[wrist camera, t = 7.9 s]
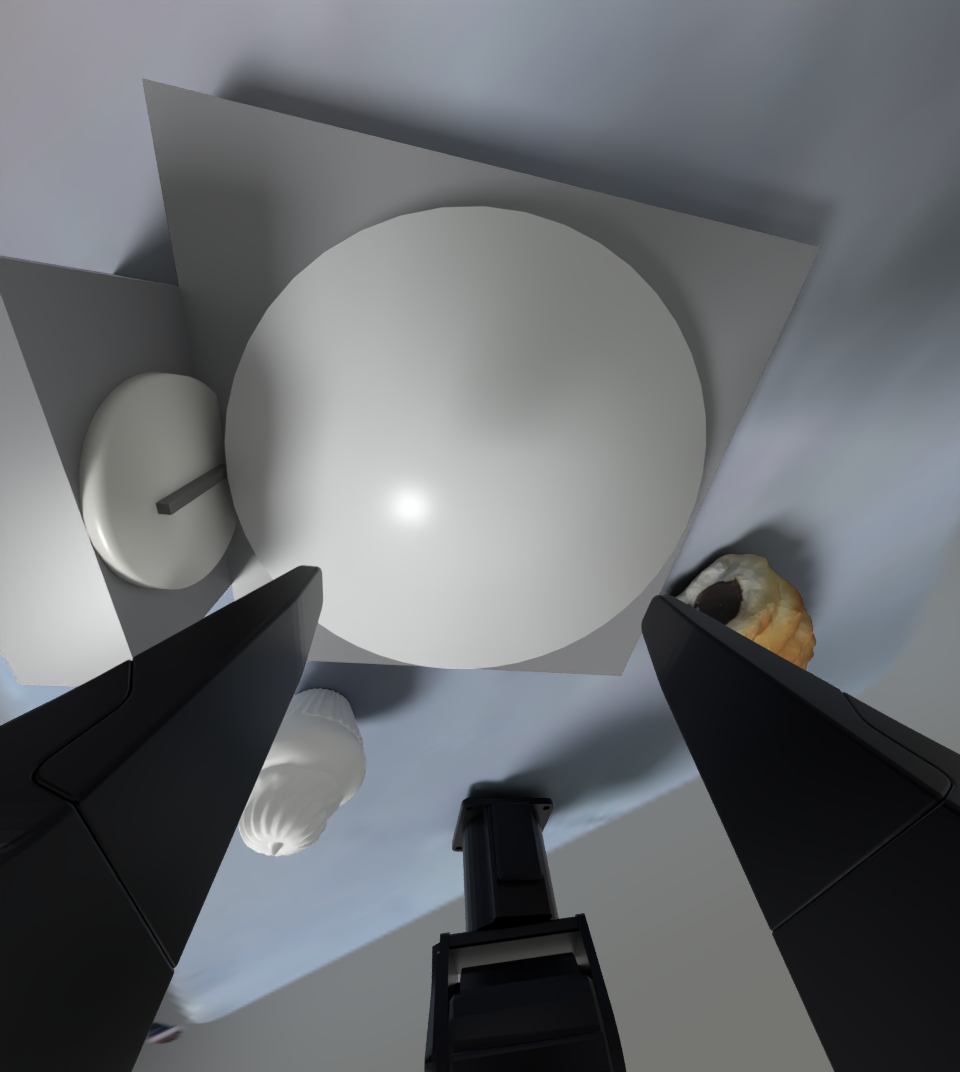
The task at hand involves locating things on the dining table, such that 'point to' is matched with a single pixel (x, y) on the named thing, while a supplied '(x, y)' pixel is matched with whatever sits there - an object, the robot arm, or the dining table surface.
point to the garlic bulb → (304, 774)
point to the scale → (372, 404)
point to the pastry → (754, 605)
